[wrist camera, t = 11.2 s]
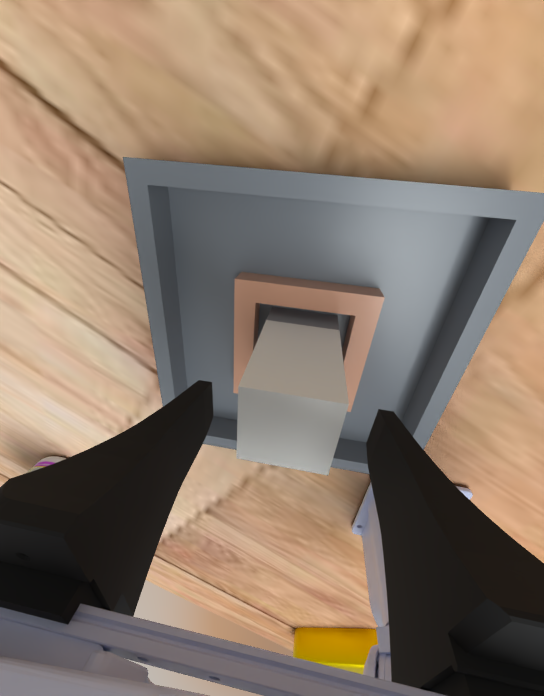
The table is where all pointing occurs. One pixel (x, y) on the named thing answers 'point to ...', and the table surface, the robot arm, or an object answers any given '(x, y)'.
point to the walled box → (324, 280)
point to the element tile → (335, 646)
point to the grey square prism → (293, 393)
